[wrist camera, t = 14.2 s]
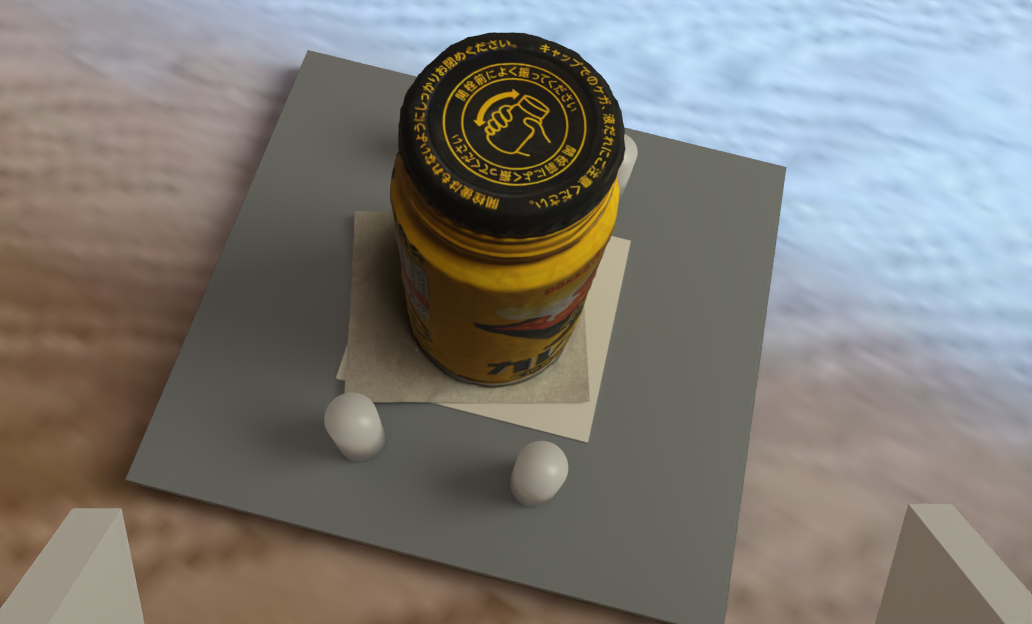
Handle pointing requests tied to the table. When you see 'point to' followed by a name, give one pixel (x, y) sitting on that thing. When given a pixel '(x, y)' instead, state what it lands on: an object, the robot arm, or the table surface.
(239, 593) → the table surface
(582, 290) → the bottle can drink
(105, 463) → the table surface
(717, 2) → the table surface
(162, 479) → the pin tray
